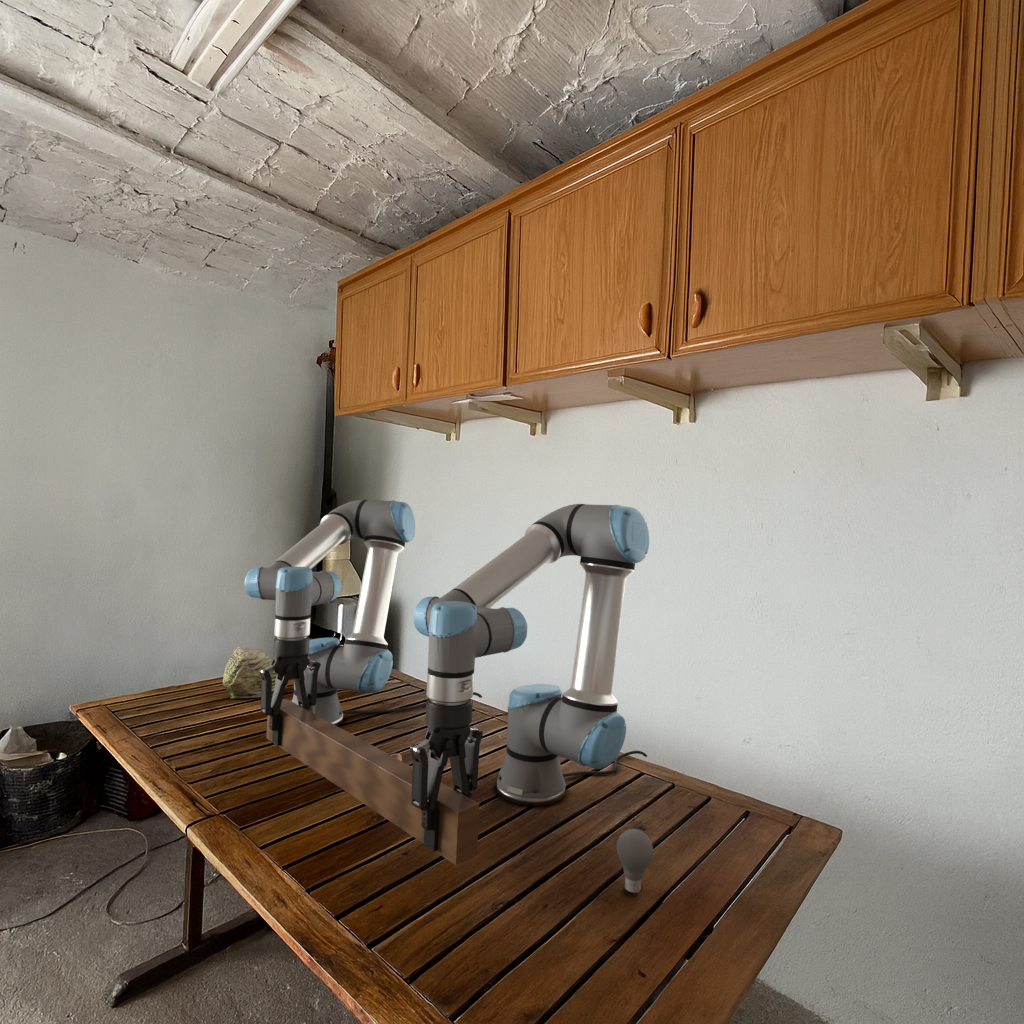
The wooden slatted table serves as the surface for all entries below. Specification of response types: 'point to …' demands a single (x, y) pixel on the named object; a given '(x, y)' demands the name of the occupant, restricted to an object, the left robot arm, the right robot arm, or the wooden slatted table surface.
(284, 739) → the bar
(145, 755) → the wooden slatted table surface
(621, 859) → the light bulb
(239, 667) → the fossil
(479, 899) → the wooden slatted table surface
